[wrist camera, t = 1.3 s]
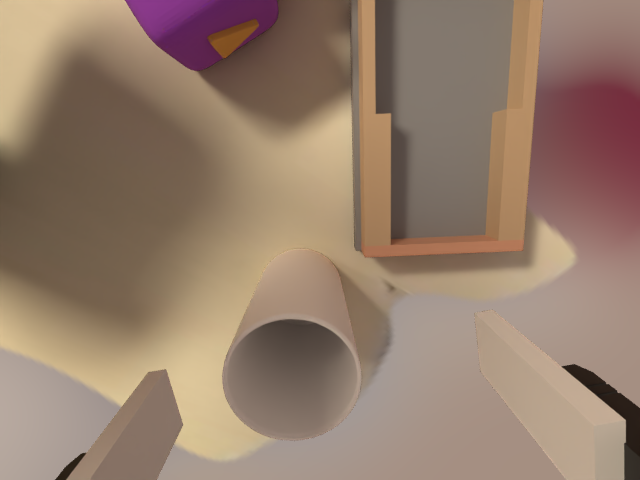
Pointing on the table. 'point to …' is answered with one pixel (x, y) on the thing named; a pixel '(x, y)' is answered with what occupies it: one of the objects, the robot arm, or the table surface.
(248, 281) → the table surface
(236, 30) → the toy camera
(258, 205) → the table surface
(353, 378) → the cup
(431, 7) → the board
